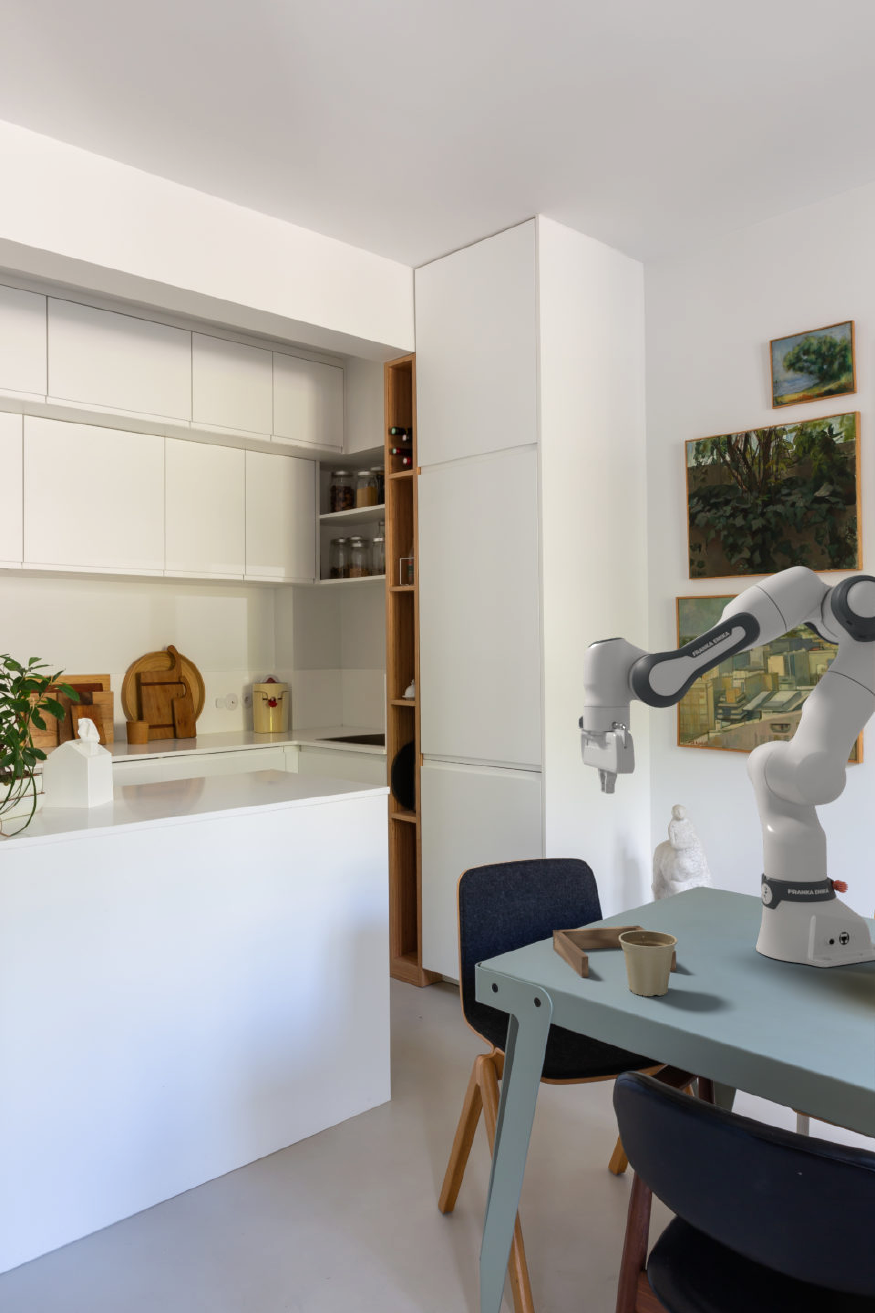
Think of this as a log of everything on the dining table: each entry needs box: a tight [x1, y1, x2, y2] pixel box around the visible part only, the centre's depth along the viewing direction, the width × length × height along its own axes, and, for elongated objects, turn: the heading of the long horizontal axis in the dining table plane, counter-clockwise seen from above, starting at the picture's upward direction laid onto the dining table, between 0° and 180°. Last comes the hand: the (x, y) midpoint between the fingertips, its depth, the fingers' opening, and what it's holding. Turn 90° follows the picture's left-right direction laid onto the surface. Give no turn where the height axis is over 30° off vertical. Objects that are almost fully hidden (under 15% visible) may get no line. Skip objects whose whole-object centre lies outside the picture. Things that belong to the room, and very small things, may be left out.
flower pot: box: [619, 929, 678, 997], centre depth 152 cm, size 9×9×9 cm
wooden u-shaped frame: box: [552, 925, 677, 978], centre depth 169 cm, size 17×17×4 cm
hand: (607, 792), depth 180 cm, fingers closed
